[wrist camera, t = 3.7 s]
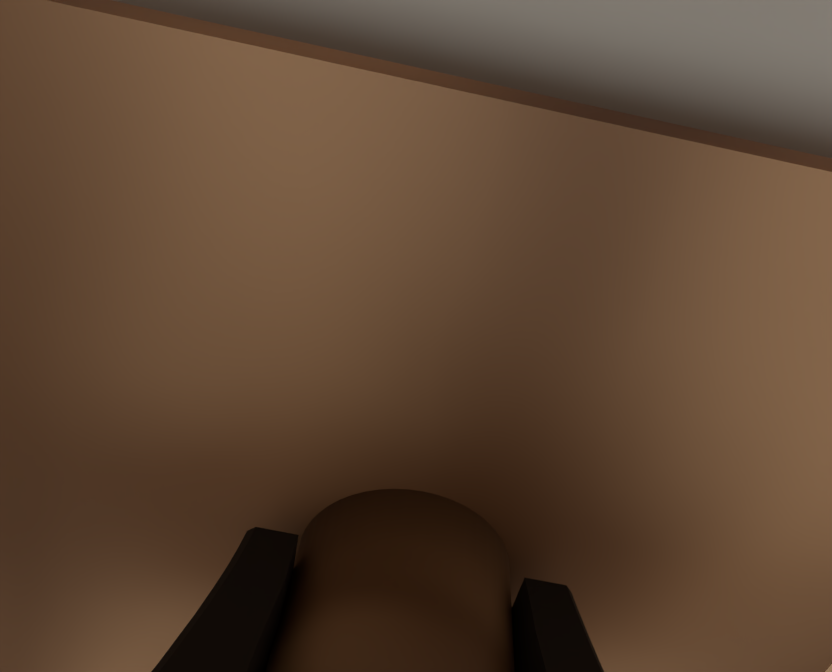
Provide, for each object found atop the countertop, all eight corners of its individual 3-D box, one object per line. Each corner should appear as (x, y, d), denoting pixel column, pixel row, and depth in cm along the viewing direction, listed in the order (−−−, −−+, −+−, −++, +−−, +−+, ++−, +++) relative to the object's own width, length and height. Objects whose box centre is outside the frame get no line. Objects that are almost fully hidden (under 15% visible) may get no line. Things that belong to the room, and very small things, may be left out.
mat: (19, 623, 18) (10, 638, 17) (-131, -237, 9) (-157, -242, 8) (682, 746, 18) (685, 762, 18) (1194, 68, 9) (1221, 75, 9)
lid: (12, 701, 15) (-154, 992, 11) (-140, -56, 7) (-842, 11, 3) (665, 816, 15) (729, 1130, 11) (1144, 227, 8) (1793, 557, 4)
